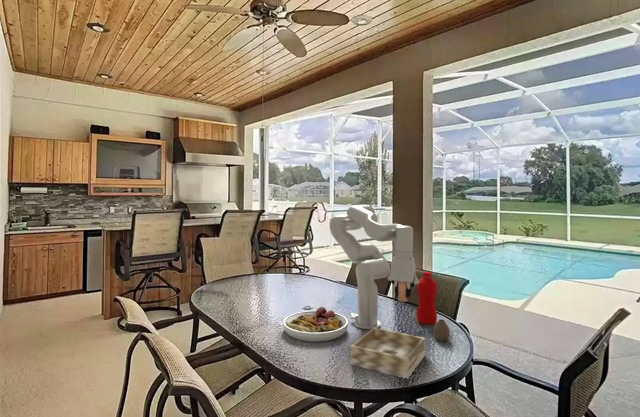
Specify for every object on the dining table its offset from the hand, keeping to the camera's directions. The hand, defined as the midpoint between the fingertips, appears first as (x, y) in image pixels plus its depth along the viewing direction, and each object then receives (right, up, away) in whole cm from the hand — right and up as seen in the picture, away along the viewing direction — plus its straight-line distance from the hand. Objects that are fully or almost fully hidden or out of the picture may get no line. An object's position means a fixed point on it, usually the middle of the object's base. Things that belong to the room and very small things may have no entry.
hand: (402, 296), depth 162 cm
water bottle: (+17, -19, +25) cm, 36 cm away
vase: (+17, -20, +2) cm, 27 cm away
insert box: (-9, -21, -17) cm, 28 cm away
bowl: (-38, -20, +13) cm, 45 cm away
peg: (0, -2, 0) cm, 2 cm away
